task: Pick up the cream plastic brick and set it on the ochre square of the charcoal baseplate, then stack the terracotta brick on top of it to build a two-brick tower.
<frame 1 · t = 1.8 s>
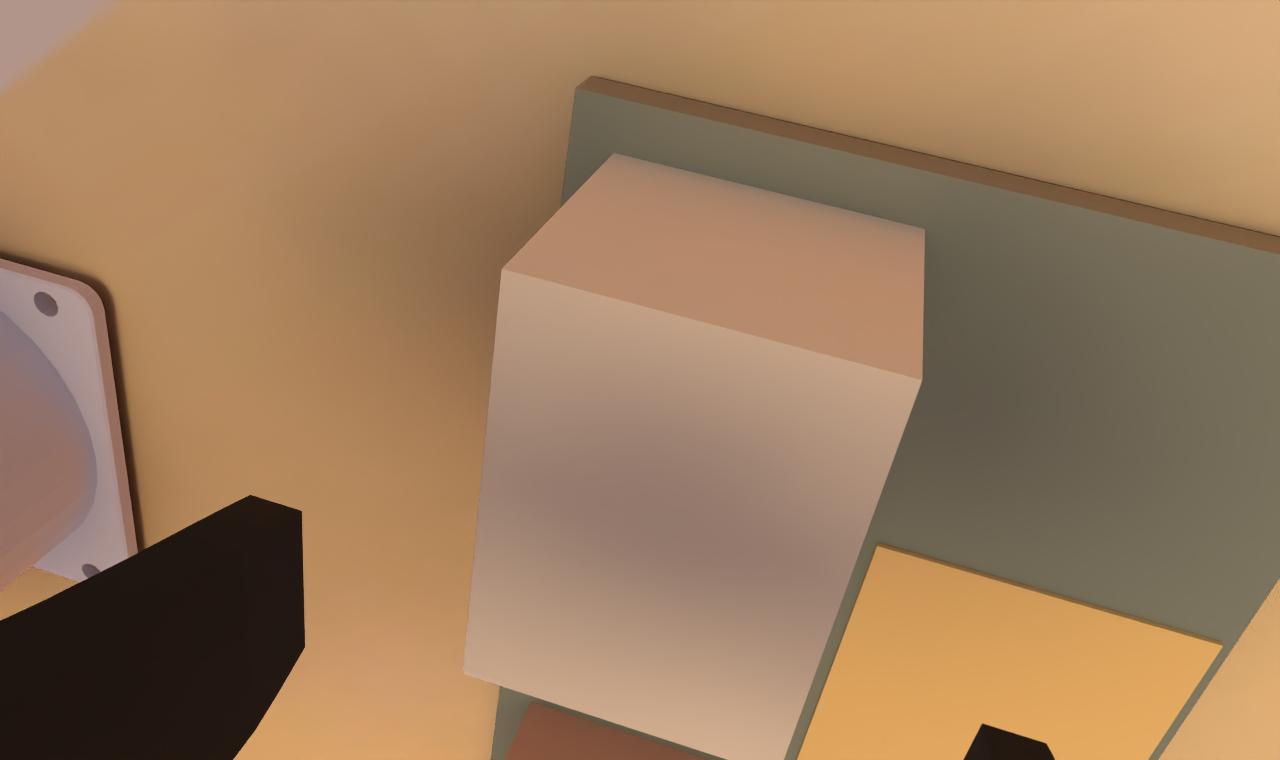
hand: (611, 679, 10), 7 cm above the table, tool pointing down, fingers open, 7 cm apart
cream brick: (721, 377, 16), point 1 cm above the table, touching baseplate
baseplate: (815, 657, 19), on the table
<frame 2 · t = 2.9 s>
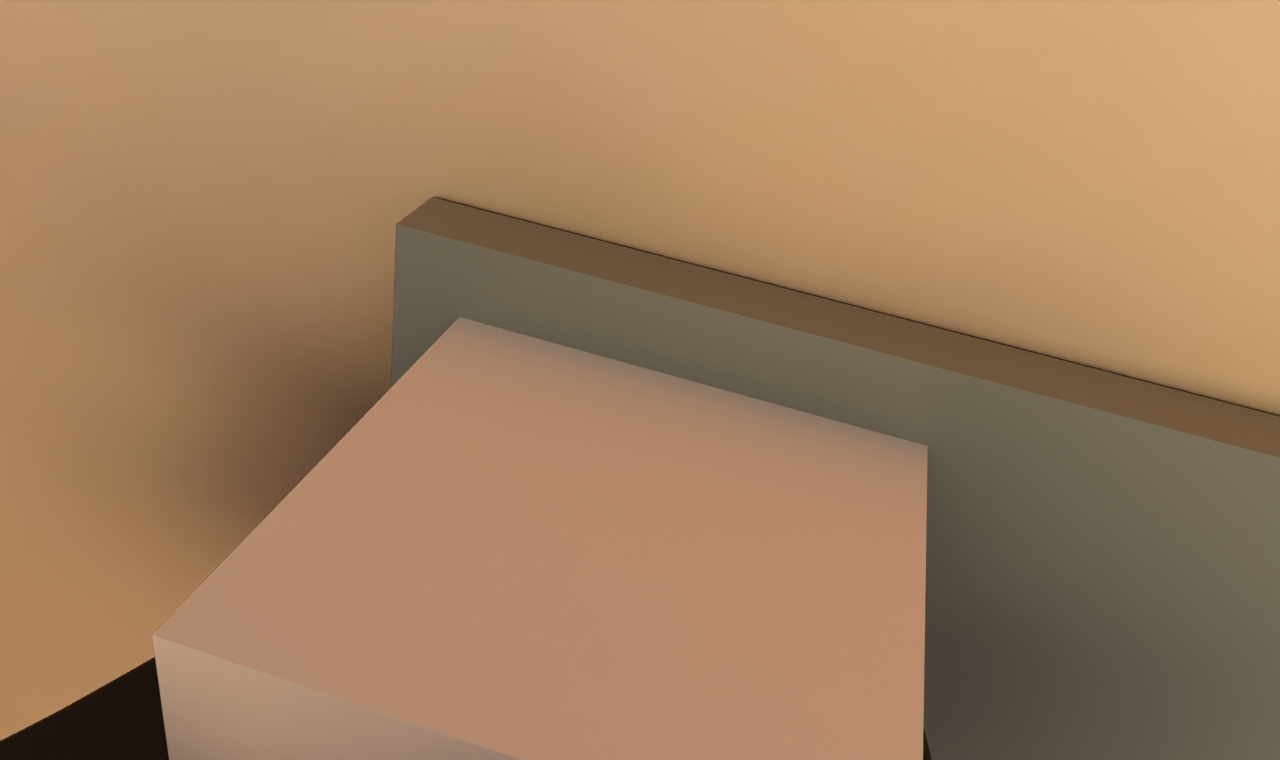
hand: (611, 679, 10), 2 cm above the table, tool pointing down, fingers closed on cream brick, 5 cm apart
cream brick: (633, 620, 11), point 1 cm above the table, touching baseplate, gripper
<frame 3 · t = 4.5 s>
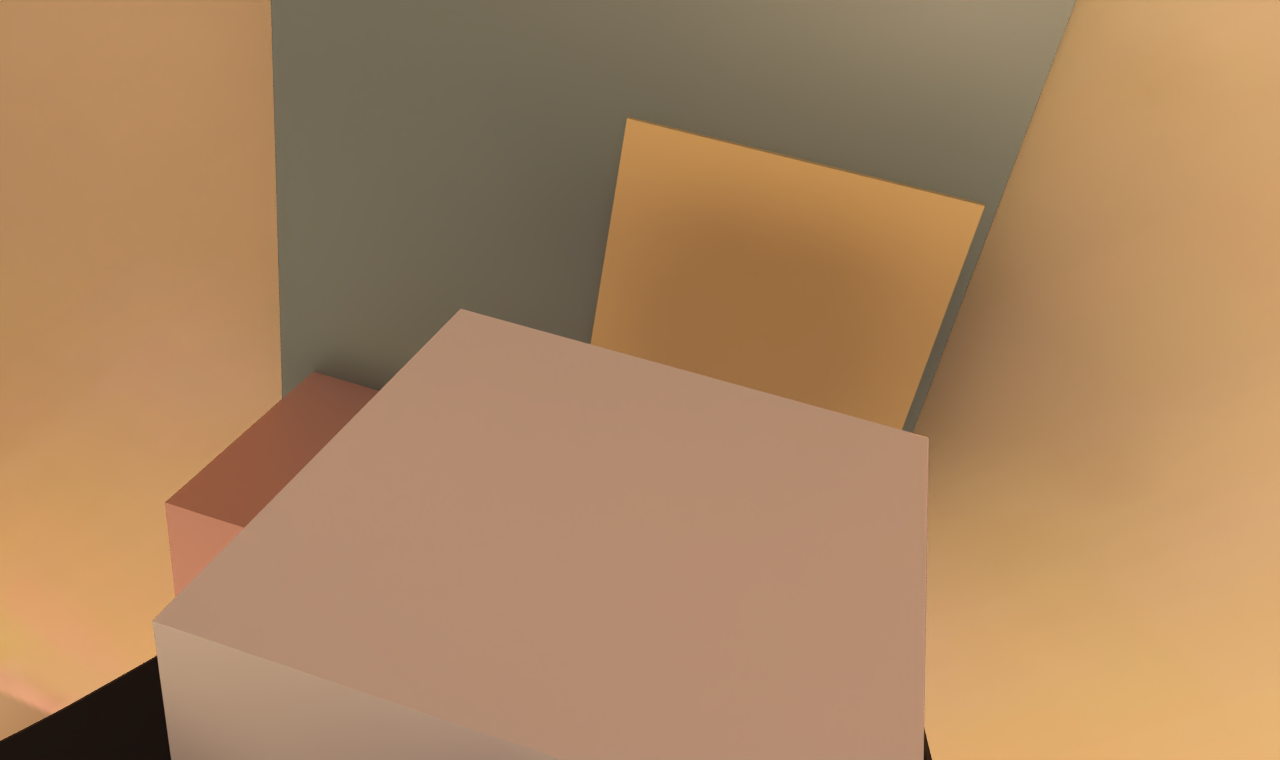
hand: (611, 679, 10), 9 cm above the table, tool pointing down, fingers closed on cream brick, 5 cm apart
terracotta brick: (412, 527, 21), point 1 cm above the table, touching baseplate
cream brick: (634, 613, 11), point 8 cm above the table, touching gripper
baseplate: (597, 299, 18), on the table
when the fingers open (3 cm above the table, at t = 6.1 s): cream brick drops 1 cm, resting on baseplate.
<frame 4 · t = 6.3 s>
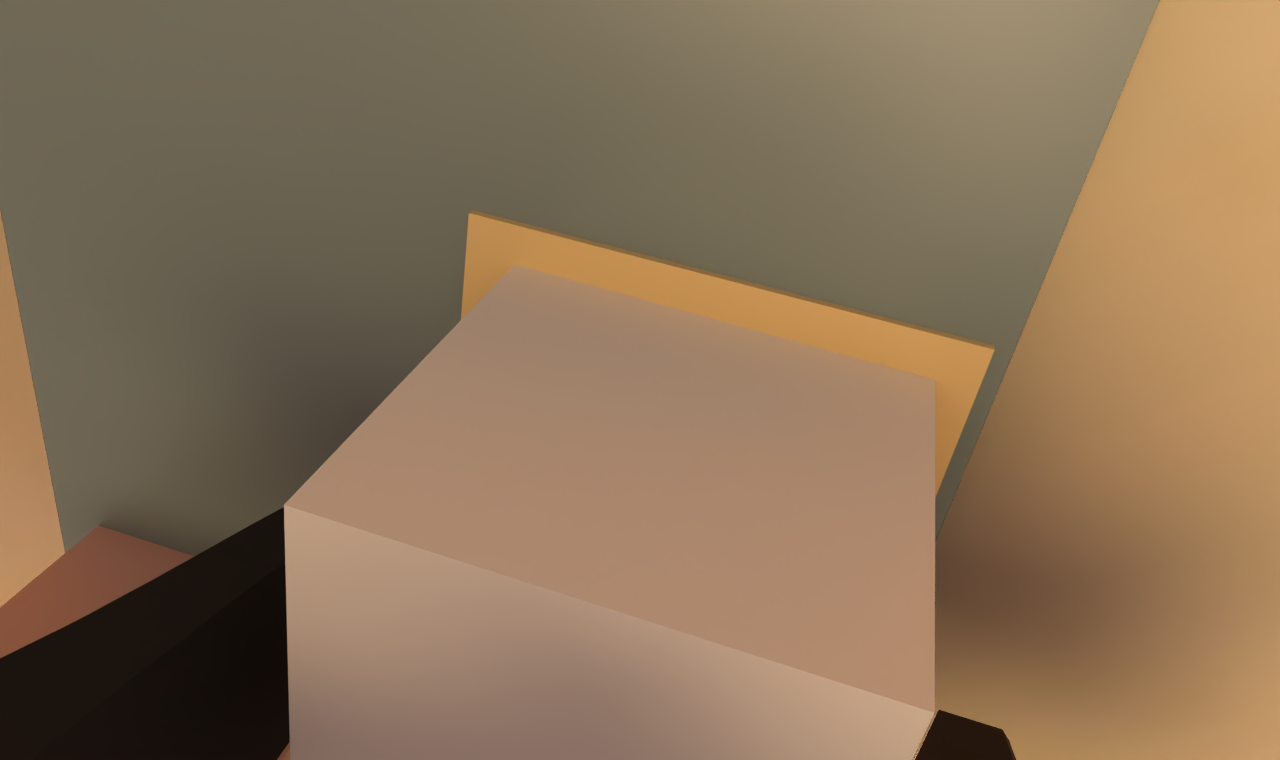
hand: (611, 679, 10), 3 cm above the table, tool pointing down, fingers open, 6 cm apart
terracotta brick: (247, 715, 16), point 1 cm above the table, touching baseplate
cream brick: (664, 548, 12), point 1 cm above the table, touching baseplate
baseplate: (462, 443, 13), on the table
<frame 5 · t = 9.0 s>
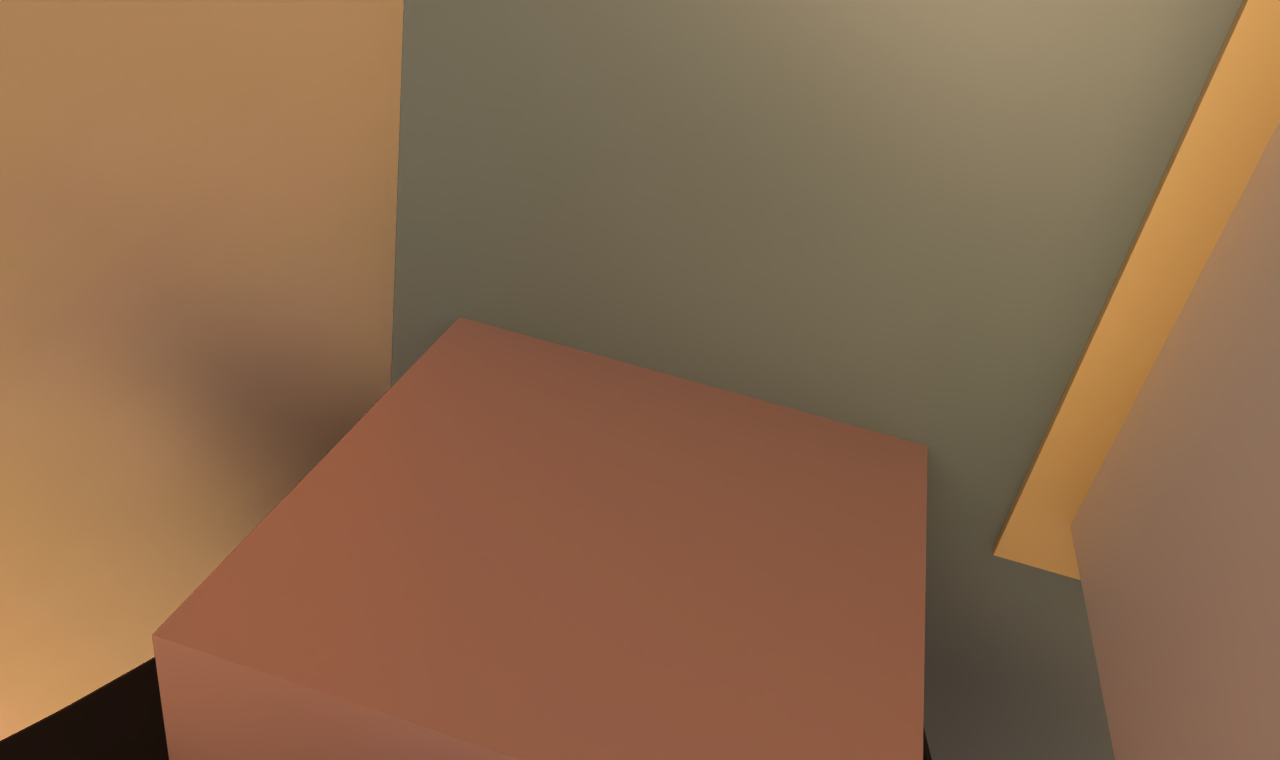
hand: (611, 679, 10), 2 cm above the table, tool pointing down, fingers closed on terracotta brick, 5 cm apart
terracotta brick: (633, 620, 11), point 1 cm above the table, touching baseplate, gripper
baseplate: (1117, 144, 8), on the table
when the fingers open (8 cm above the table, at t = 11.6 s): terracotta brick drops 1 cm, resting on cream brick.
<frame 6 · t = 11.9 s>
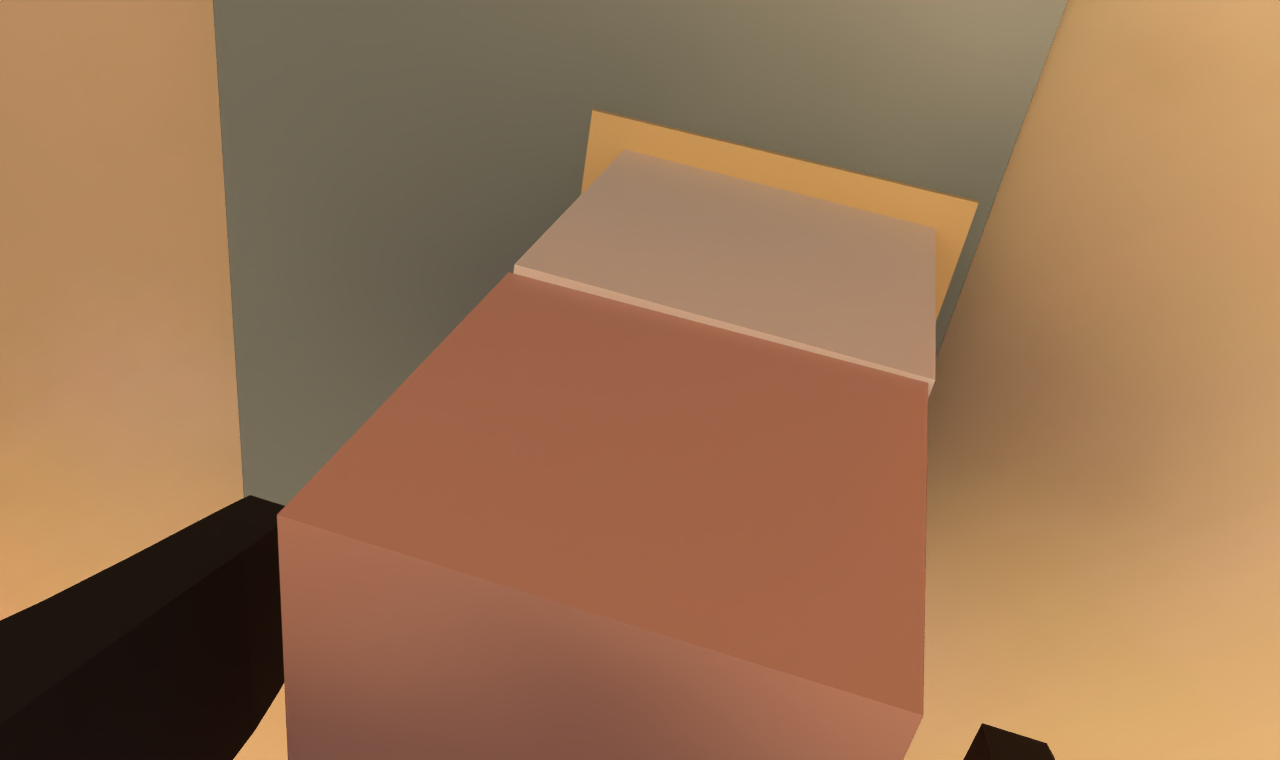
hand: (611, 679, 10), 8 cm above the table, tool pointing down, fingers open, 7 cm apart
terracotta brick: (661, 552, 12), point 5 cm above the table, touching cream brick
cream brick: (729, 375, 16), point 1 cm above the table, touching baseplate, terracotta brick
baseplate: (567, 305, 17), on the table
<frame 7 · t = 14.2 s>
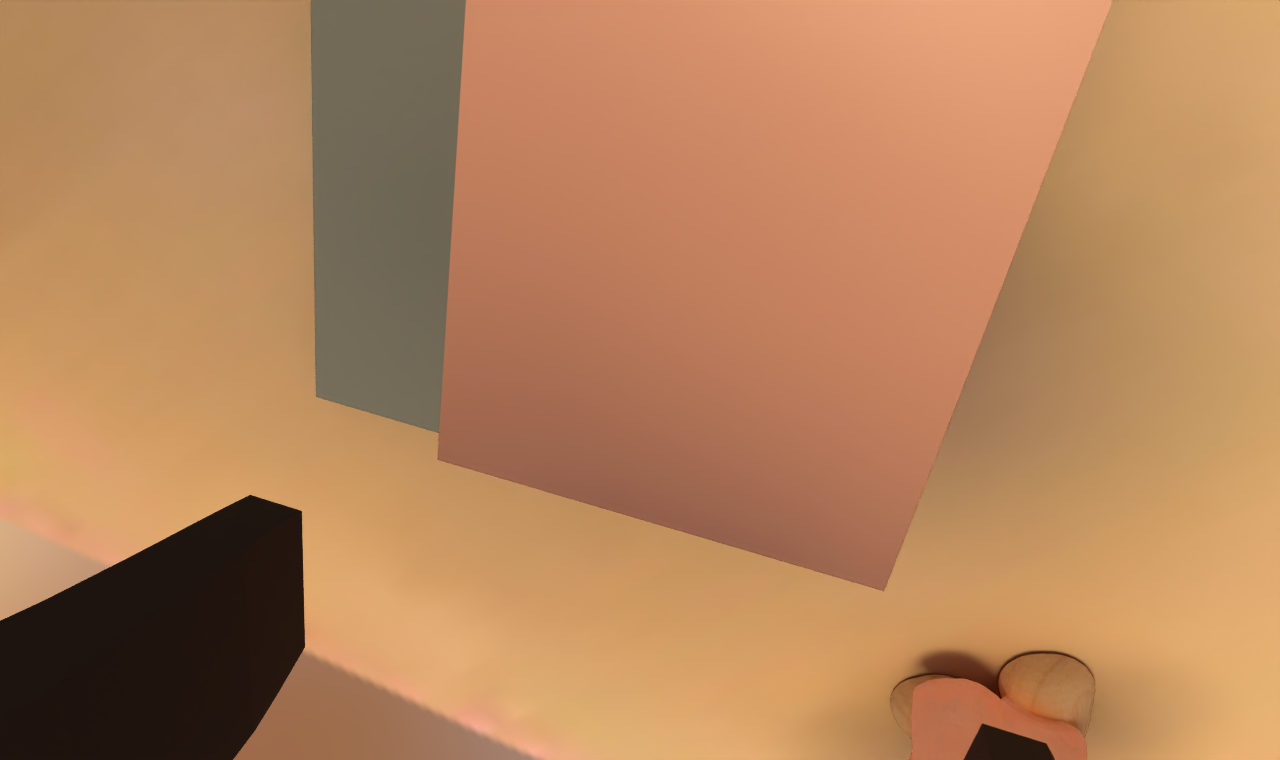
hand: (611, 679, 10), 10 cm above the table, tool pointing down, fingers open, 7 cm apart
terracotta brick: (786, 96, 12), point 5 cm above the table, touching cream brick
grandmother figurine: (969, 703, 23), on the table
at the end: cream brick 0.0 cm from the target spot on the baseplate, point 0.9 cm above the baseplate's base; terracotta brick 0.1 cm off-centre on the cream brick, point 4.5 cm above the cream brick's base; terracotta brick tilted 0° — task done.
